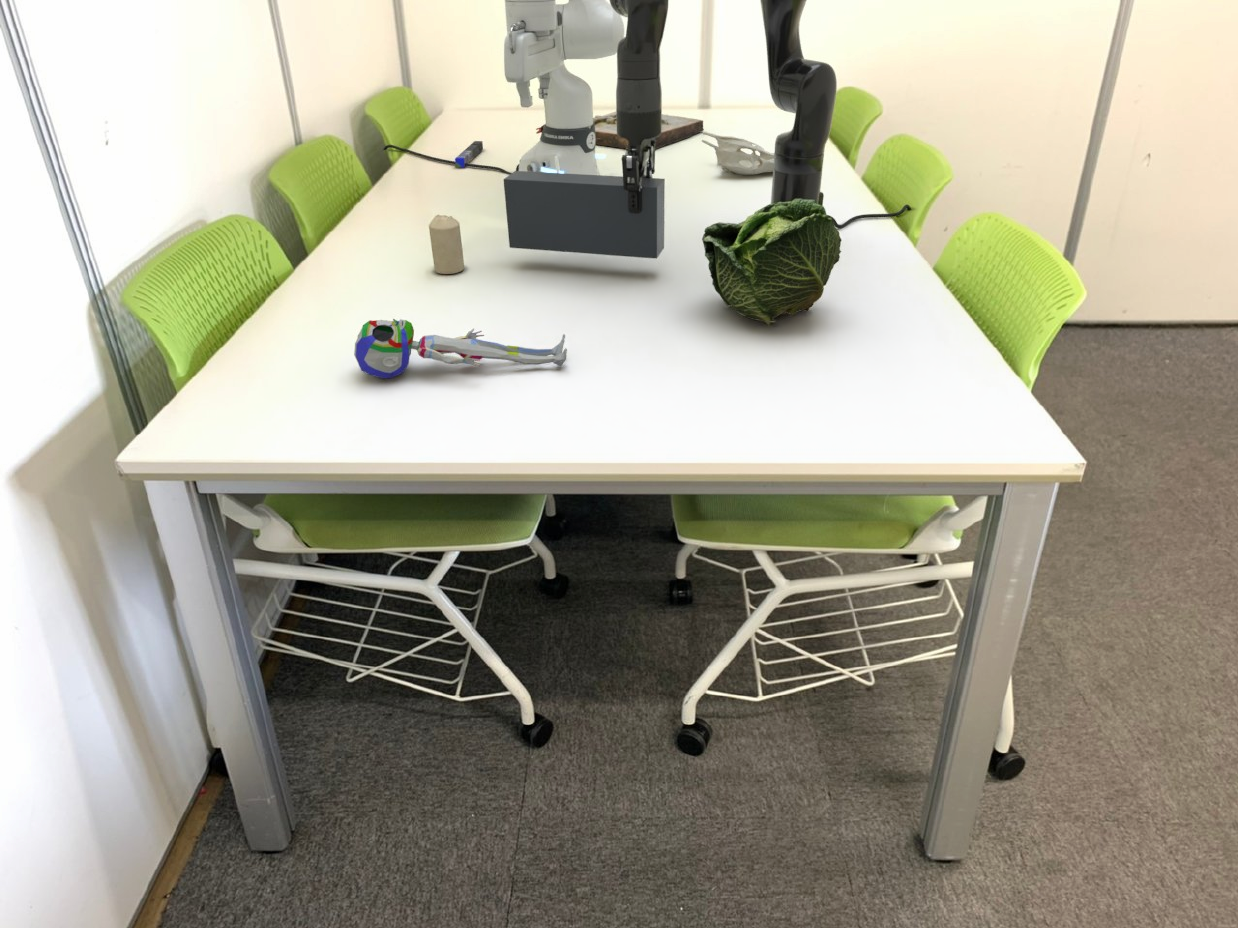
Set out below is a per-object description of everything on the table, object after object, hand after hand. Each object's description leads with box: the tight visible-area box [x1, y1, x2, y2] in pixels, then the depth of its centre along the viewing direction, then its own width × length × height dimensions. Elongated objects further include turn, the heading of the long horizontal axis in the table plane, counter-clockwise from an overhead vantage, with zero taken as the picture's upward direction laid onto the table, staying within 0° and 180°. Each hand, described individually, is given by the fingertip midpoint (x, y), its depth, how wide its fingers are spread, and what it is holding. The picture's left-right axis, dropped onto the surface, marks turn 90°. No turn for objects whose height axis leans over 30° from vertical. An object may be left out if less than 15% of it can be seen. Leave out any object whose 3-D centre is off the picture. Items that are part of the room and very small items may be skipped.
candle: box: [428, 214, 465, 275], centre depth 165 cm, size 6×6×10 cm
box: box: [503, 170, 666, 260], centre depth 160 cm, size 28×6×12 cm, turn 75°
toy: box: [353, 318, 568, 379], centre depth 130 cm, size 10×8×30 cm
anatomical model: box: [701, 131, 774, 176], centre depth 221 cm, size 15×9×25 cm
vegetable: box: [701, 198, 843, 326], centre depth 143 cm, size 20×19×20 cm
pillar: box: [454, 140, 484, 169], centre depth 238 cm, size 2×2×20 cm
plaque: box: [593, 111, 705, 150], centre depth 257 cm, size 30×7×30 cm
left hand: (535, 102), depth 165 cm, fingers open, 8 cm apart
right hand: (639, 207), depth 157 cm, fingers closed on box, 5 cm apart
